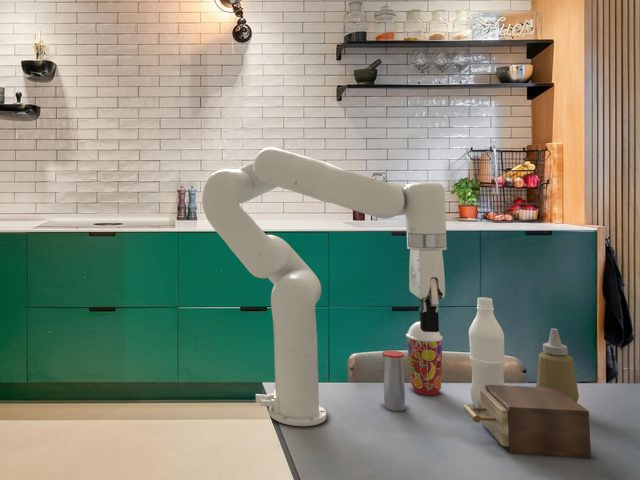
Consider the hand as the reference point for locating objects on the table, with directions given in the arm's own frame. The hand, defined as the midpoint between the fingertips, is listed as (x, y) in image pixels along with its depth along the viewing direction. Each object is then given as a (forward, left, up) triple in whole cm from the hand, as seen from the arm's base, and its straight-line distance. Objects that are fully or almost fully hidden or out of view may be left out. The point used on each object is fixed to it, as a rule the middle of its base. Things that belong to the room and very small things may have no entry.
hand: (429, 330), depth 116 cm
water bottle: (+16, +16, -21) cm, 31 cm away
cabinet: (+19, 0, -21) cm, 28 cm away
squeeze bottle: (+31, +18, -21) cm, 42 cm away
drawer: (+15, 0, -20) cm, 25 cm away
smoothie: (+5, +26, -21) cm, 34 cm away
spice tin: (-5, +14, -21) cm, 26 cm away
